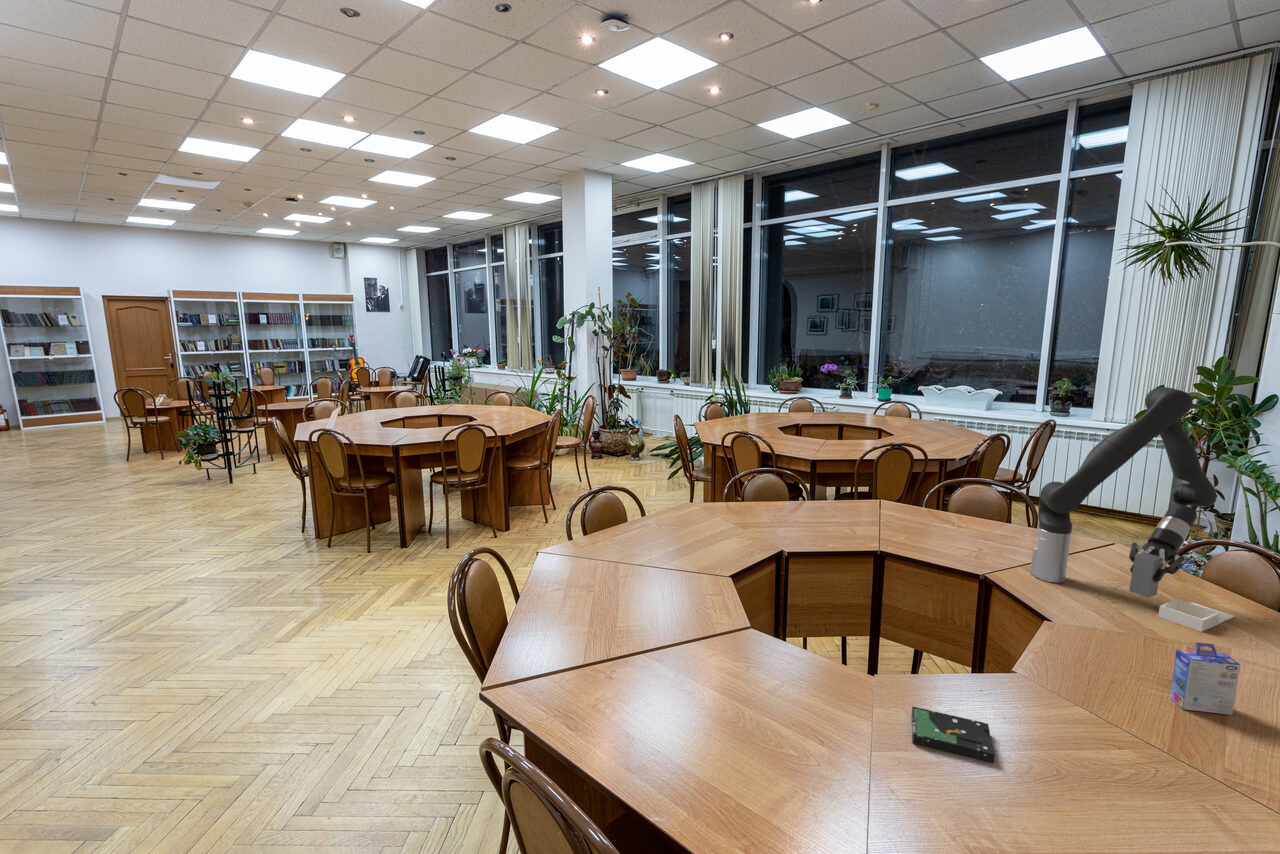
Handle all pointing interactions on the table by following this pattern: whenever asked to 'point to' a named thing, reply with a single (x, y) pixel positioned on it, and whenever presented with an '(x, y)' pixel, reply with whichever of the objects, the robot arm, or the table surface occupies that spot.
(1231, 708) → the ink cartridge box
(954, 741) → the disk drive
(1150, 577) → the charcoal carton
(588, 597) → the table surface
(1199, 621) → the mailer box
